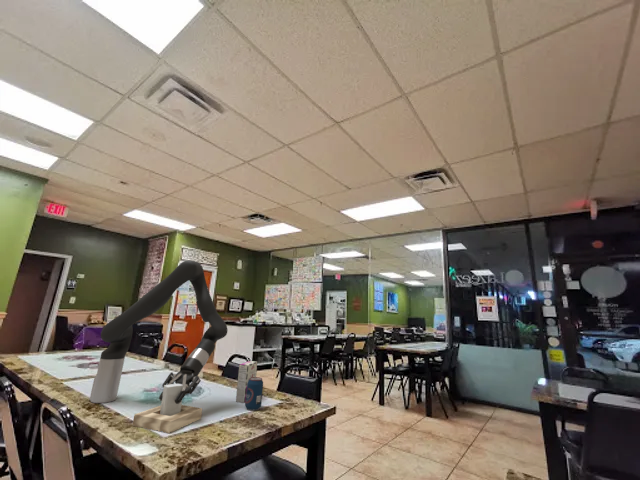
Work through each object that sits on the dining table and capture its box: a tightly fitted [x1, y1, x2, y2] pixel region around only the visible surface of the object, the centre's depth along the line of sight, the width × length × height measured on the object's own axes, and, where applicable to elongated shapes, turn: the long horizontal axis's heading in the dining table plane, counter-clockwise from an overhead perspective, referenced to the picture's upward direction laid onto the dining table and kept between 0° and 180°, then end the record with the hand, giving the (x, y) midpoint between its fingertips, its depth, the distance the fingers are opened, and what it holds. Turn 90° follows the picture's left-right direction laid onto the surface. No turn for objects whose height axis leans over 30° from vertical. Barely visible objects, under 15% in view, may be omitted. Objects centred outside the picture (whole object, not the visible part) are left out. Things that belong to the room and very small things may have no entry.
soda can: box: [244, 376, 264, 411], centre depth 129 cm, size 7×7×12 cm
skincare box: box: [160, 383, 183, 416], centre depth 109 cm, size 6×4×12 cm
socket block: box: [131, 404, 203, 434], centre depth 108 cm, size 16×16×4 cm
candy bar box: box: [235, 360, 258, 404], centre depth 142 cm, size 11×5×16 cm, turn 168°
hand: (168, 401), depth 108 cm, fingers open, 6 cm apart
